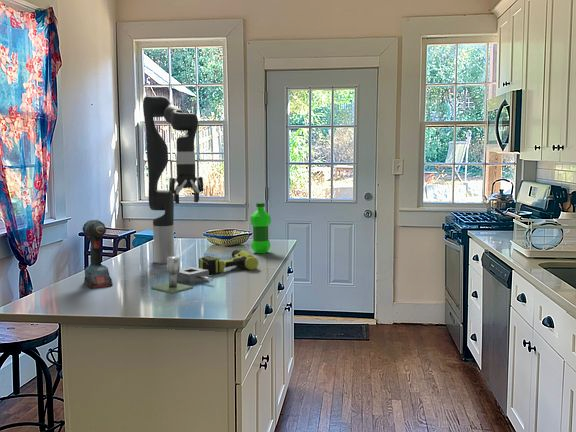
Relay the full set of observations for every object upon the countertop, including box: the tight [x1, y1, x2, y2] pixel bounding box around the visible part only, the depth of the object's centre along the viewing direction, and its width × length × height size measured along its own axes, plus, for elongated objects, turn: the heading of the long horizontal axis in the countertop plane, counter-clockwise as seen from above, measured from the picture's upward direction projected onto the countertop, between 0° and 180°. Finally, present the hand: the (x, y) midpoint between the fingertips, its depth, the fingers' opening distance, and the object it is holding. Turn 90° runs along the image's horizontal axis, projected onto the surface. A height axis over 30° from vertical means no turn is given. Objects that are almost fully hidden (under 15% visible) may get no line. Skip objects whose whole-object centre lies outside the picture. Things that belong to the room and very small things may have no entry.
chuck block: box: [177, 266, 214, 286], centre depth 225 cm, size 17×10×4 cm, turn 52°
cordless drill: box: [198, 249, 259, 276], centre depth 252 cm, size 7×25×25 cm
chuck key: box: [166, 256, 180, 287], centre depth 214 cm, size 5×7×11 cm
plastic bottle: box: [250, 202, 272, 254], centre depth 286 cm, size 10×11×25 cm
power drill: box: [82, 219, 114, 289], centre depth 220 cm, size 9×23×25 cm, turn 27°
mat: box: [150, 282, 194, 294], centre depth 215 cm, size 12×10×1 cm
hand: (186, 202), depth 233 cm, fingers open, 8 cm apart
